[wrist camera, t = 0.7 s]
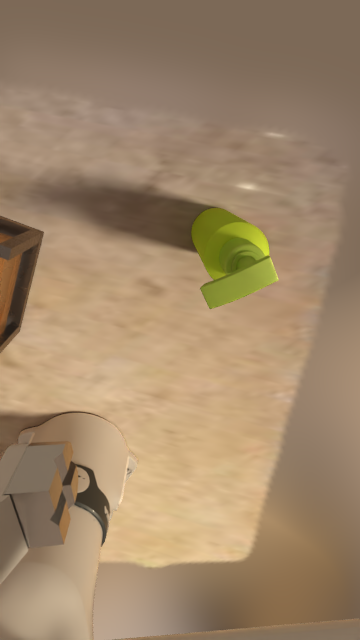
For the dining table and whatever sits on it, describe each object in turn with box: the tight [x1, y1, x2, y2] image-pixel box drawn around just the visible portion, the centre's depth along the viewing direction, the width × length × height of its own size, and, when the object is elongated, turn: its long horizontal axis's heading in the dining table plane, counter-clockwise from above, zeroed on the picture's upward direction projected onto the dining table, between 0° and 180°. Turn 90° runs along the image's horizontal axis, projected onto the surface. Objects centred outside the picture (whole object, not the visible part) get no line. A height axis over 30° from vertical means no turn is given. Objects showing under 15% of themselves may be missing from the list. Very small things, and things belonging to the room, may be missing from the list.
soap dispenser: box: [191, 208, 278, 309], centre depth 34 cm, size 6×7×20 cm
